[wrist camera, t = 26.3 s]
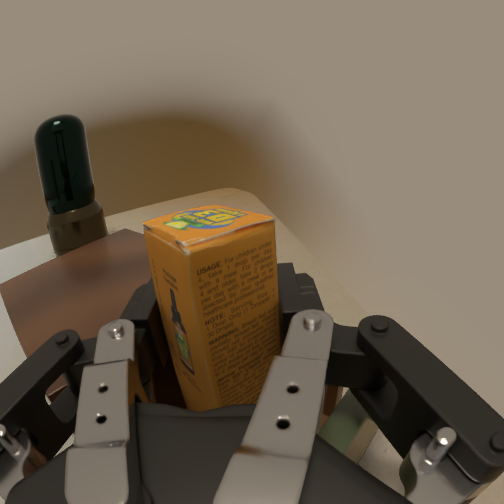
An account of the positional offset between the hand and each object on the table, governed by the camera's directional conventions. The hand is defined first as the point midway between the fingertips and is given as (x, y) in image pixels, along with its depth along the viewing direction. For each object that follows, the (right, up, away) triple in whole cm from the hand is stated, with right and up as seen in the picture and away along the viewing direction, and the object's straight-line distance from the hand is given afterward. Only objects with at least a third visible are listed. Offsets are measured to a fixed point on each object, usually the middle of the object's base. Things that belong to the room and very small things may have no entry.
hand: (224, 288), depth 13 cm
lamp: (-26, +1, +33) cm, 42 cm away
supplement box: (+1, -7, 0) cm, 7 cm away
